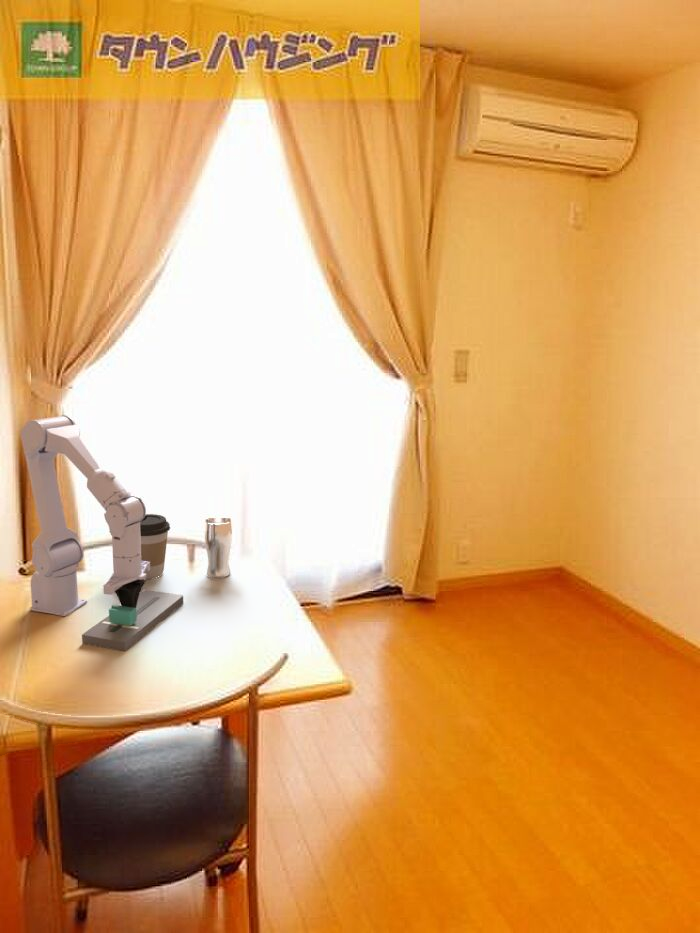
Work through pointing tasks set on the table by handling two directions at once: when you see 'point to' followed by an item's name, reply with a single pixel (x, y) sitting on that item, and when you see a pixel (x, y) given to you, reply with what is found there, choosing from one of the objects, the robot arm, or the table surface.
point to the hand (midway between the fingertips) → (129, 612)
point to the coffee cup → (154, 543)
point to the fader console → (148, 615)
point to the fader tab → (122, 615)
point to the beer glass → (218, 545)
